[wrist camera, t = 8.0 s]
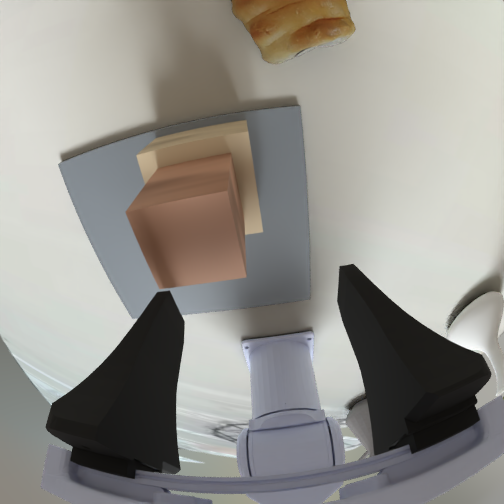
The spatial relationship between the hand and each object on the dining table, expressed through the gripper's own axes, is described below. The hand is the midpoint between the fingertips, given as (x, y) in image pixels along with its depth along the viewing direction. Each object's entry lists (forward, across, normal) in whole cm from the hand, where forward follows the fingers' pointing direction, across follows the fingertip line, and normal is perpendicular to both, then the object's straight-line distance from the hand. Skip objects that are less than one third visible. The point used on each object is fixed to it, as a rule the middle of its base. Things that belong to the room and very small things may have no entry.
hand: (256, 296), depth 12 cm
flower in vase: (+11, -29, +22) cm, 38 cm away
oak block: (+10, +2, -3) cm, 10 cm away
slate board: (+10, +5, +2) cm, 12 cm away
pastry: (+11, -4, -13) cm, 18 cm away
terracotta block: (+6, +2, -3) cm, 7 cm away
